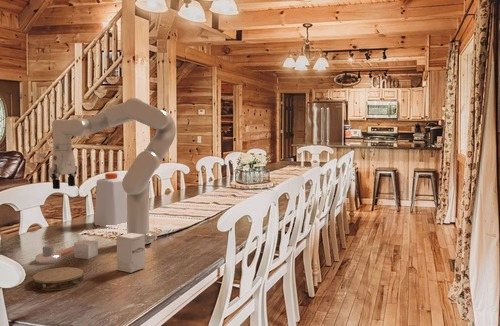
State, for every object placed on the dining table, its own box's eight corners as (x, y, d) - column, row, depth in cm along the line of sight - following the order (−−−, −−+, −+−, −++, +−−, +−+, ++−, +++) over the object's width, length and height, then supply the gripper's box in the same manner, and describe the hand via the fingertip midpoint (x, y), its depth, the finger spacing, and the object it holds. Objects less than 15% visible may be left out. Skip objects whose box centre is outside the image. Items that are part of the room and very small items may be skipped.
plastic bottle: (91, 227, 255) (89, 173, 253) (114, 222, 267) (113, 171, 265) (110, 231, 246) (109, 175, 244) (133, 226, 259) (132, 173, 257)
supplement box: (131, 273, 175) (130, 238, 174) (116, 270, 179) (115, 235, 178) (145, 268, 181) (145, 234, 180) (131, 265, 185) (130, 232, 184)
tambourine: (48, 274, 174) (48, 266, 174) (91, 276, 172) (91, 267, 172) (23, 289, 158) (22, 280, 158) (70, 291, 156) (70, 282, 156)
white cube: (97, 255, 199) (97, 240, 198) (88, 259, 193) (88, 244, 192) (84, 254, 201) (83, 240, 200) (74, 258, 195) (74, 243, 194)
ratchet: (92, 248, 210) (91, 235, 209) (50, 265, 184) (50, 250, 184) (74, 247, 212) (73, 233, 212) (30, 263, 187) (30, 248, 186)
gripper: (55, 149, 203) (57, 190, 204) (82, 147, 219) (84, 185, 220) (41, 149, 205) (42, 189, 206) (68, 147, 222) (70, 185, 223)
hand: (64, 187), depth 213 cm, fingers open, 9 cm apart
